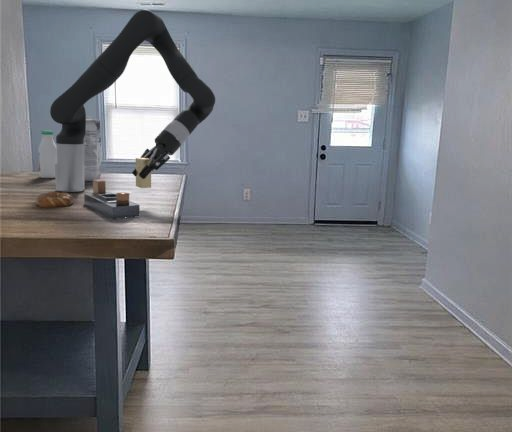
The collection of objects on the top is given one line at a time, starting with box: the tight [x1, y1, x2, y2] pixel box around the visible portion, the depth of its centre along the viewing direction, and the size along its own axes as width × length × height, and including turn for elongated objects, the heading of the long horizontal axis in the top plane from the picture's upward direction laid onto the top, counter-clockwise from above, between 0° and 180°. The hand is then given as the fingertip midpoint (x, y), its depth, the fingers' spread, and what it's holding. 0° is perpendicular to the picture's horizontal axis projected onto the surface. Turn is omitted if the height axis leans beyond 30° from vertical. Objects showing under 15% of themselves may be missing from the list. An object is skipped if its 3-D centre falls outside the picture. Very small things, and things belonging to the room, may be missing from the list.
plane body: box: [83, 178, 141, 220], centre depth 140 cm, size 24×8×8 cm, turn 38°
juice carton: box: [83, 115, 102, 182], centre depth 195 cm, size 9×10×27 cm
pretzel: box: [35, 191, 75, 208], centre depth 145 cm, size 12×11×4 cm
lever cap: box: [135, 157, 152, 189], centre depth 145 cm, size 4×4×9 cm
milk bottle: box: [37, 130, 57, 179], centre depth 197 cm, size 8×8×20 cm
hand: (137, 175), depth 144 cm, fingers closed on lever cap, 4 cm apart
